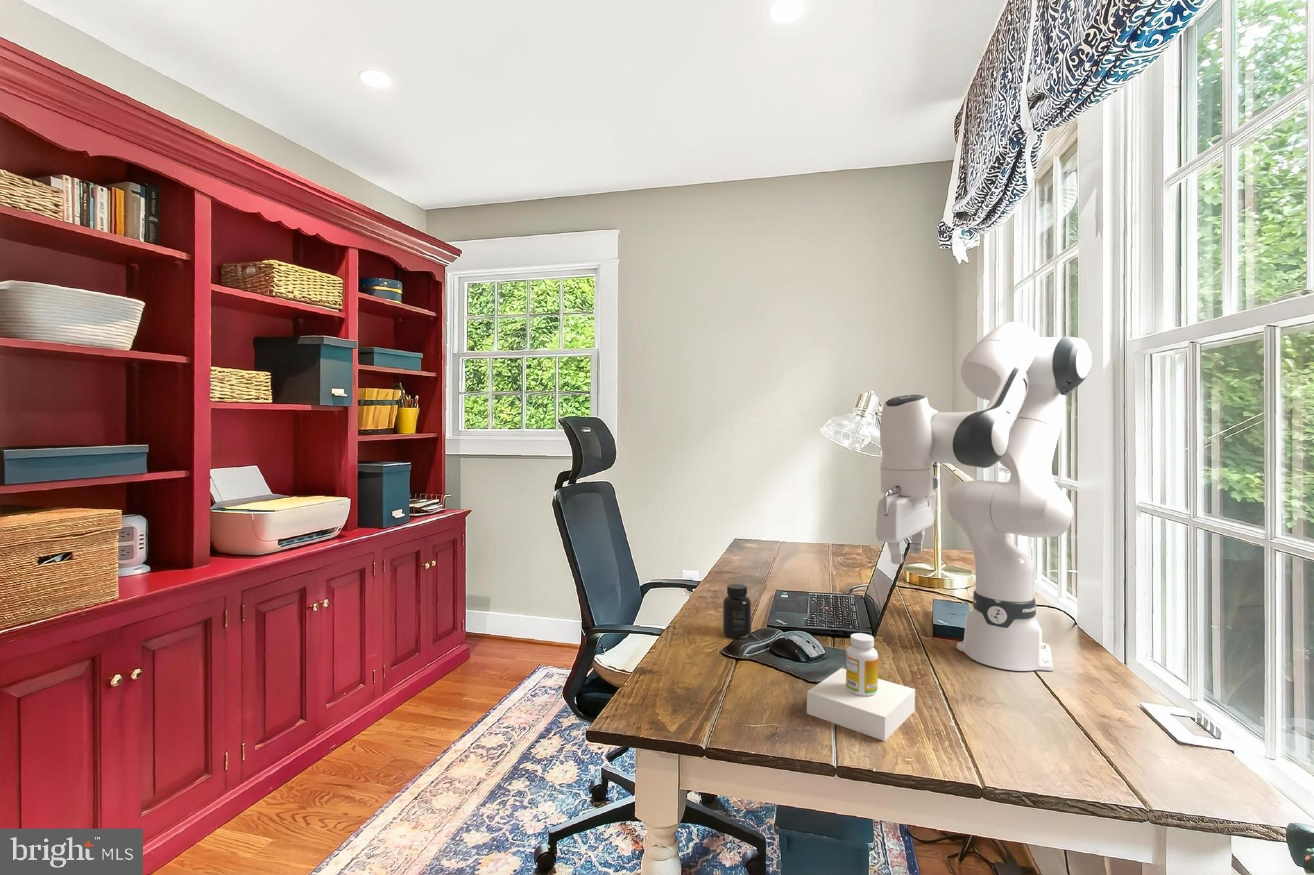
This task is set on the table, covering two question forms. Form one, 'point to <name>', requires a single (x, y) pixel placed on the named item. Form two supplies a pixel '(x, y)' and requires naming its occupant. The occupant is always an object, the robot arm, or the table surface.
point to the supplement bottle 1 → (736, 612)
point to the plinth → (861, 706)
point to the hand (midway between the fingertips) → (907, 557)
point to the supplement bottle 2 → (862, 665)
